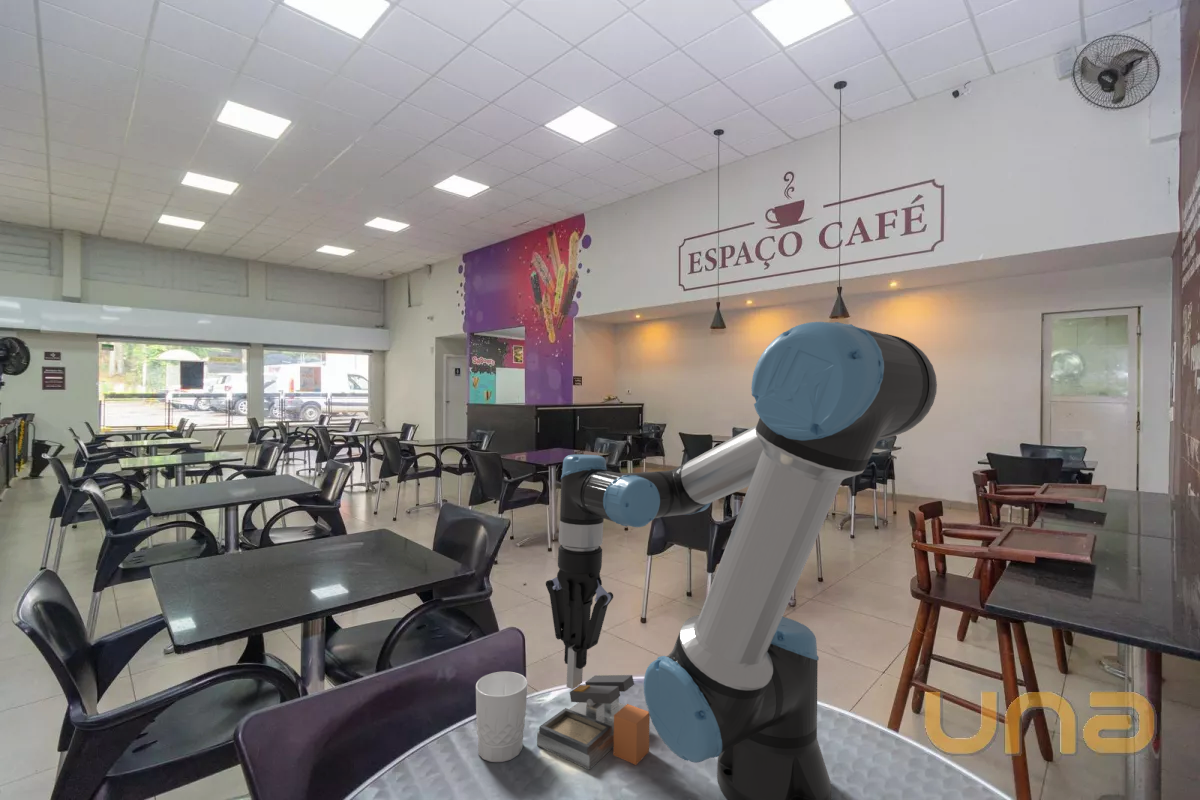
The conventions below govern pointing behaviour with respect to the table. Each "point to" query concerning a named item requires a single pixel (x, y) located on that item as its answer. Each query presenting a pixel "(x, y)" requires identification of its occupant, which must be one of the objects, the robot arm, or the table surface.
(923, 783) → the table surface
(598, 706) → the gray metal tray
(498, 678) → the white cup
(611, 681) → the block
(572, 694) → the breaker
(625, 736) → the cap
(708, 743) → the robot arm
